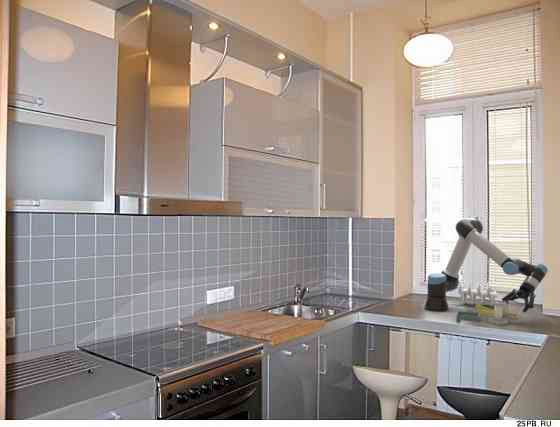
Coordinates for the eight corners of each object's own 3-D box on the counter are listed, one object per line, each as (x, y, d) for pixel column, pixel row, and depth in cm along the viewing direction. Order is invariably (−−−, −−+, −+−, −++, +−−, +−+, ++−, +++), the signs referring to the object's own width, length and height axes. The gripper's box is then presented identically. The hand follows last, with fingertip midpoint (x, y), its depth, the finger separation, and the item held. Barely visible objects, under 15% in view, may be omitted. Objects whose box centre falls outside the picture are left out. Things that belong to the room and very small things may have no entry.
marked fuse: (507, 320, 266) (507, 300, 267) (516, 321, 265) (517, 300, 265) (508, 322, 262) (508, 301, 262) (517, 323, 260) (517, 302, 260)
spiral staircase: (495, 314, 311) (456, 308, 321) (496, 299, 325) (458, 294, 335) (497, 291, 303) (457, 286, 314) (498, 277, 318) (459, 273, 328)
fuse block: (511, 322, 269) (511, 316, 269) (525, 325, 261) (525, 319, 261) (486, 324, 262) (486, 318, 262) (498, 328, 253) (498, 322, 253)
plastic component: (511, 315, 278) (501, 309, 274) (506, 326, 277) (497, 320, 273) (483, 306, 296) (474, 301, 291) (479, 317, 295) (470, 311, 290)
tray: (457, 317, 280) (457, 310, 280) (479, 319, 275) (479, 312, 275) (456, 321, 269) (456, 314, 269) (479, 323, 264) (479, 316, 264)
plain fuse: (493, 321, 262) (493, 301, 263) (502, 322, 261) (502, 301, 261) (493, 323, 258) (494, 302, 258) (503, 324, 256) (503, 303, 256)
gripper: (551, 293, 258) (531, 322, 252) (514, 287, 281) (495, 313, 275) (544, 284, 256) (524, 313, 250) (508, 278, 279) (489, 305, 273)
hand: (509, 313), depth 262 cm, fingers open, 12 cm apart
